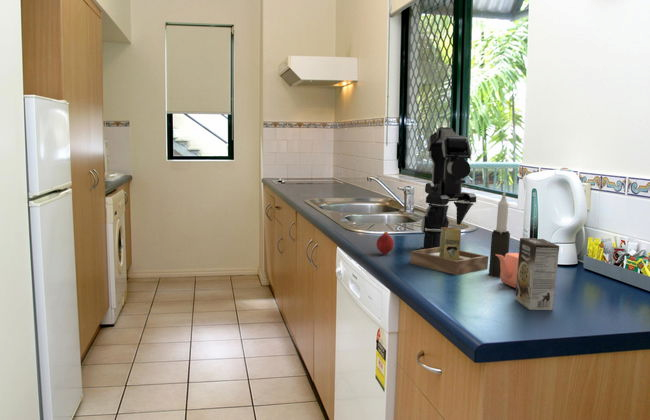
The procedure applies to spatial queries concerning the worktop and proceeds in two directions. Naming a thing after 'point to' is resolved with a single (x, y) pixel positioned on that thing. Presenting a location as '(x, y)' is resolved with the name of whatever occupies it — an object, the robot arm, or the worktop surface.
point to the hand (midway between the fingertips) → (449, 225)
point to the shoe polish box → (450, 243)
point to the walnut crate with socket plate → (449, 261)
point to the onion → (385, 243)
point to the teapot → (509, 268)
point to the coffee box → (536, 273)
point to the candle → (499, 238)
